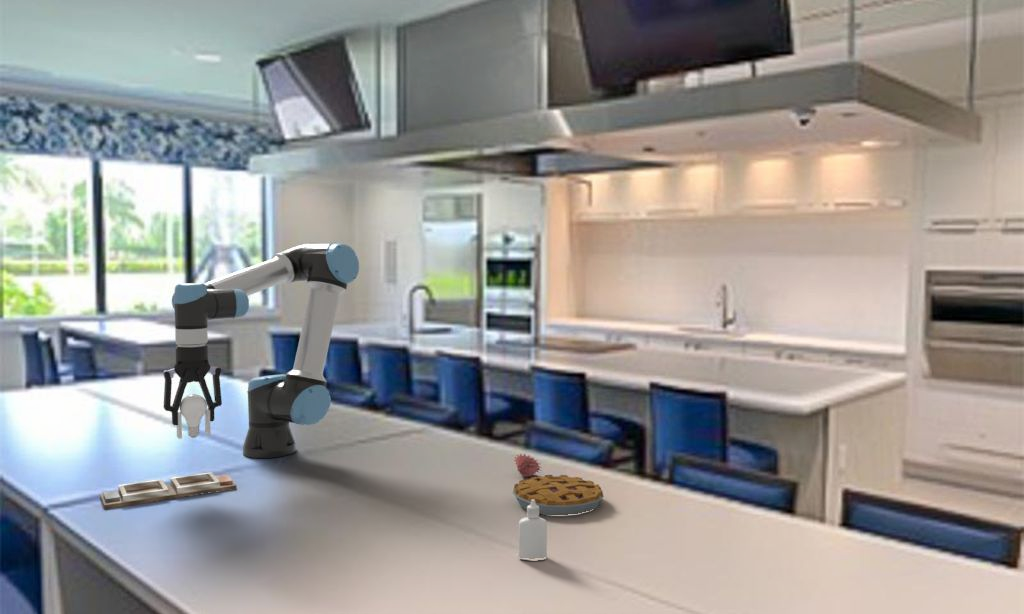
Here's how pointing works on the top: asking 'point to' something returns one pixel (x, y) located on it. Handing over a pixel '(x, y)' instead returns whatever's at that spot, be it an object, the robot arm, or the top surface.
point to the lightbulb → (193, 412)
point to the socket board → (165, 489)
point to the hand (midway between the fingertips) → (193, 435)
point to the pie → (558, 494)
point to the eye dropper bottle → (532, 534)
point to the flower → (527, 465)
